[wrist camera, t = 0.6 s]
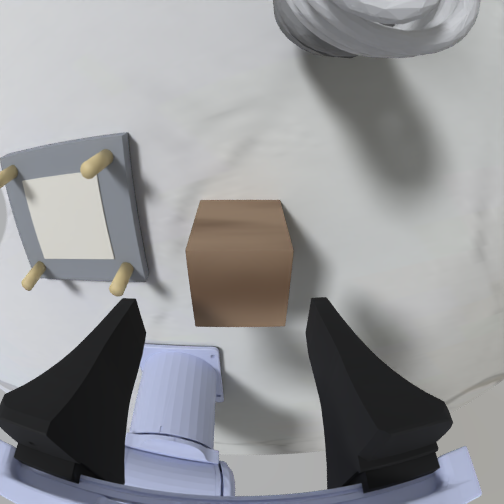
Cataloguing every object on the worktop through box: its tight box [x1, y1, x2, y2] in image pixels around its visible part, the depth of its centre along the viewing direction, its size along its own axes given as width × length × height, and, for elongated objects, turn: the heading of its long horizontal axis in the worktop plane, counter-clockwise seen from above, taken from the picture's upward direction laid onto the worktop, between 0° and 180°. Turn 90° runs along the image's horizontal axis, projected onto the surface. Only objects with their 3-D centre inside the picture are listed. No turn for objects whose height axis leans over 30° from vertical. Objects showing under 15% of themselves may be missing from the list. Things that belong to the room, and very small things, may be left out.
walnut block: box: [186, 200, 294, 327], centre depth 18 cm, size 5×5×6 cm
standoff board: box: [0, 132, 149, 296], centre depth 18 cm, size 10×10×4 cm
